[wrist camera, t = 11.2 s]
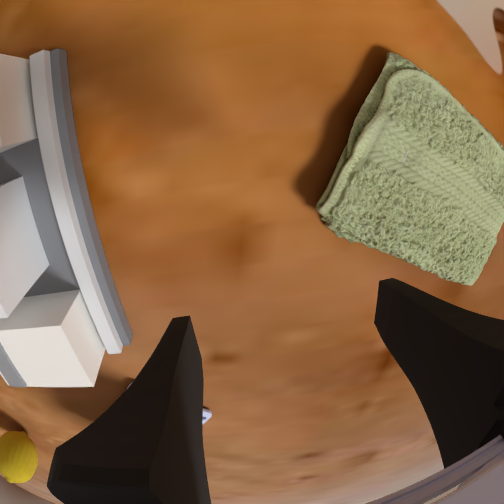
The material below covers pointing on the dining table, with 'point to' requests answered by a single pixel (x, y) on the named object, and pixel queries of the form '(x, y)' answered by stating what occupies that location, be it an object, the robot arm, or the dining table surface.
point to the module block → (18, 246)
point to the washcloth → (418, 177)
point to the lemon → (17, 456)
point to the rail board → (54, 235)
